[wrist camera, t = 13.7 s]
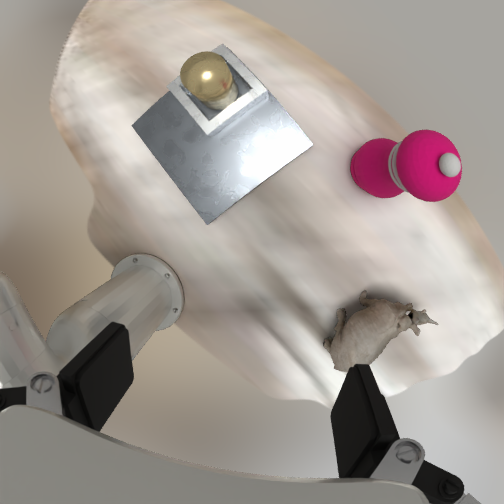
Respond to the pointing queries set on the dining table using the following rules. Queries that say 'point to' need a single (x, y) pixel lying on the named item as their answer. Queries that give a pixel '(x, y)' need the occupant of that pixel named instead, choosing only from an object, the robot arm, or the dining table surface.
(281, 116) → the plate
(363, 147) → the pepper mill
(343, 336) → the rhinoceros figurine
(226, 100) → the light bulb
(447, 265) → the dining table surface
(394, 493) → the robot arm
